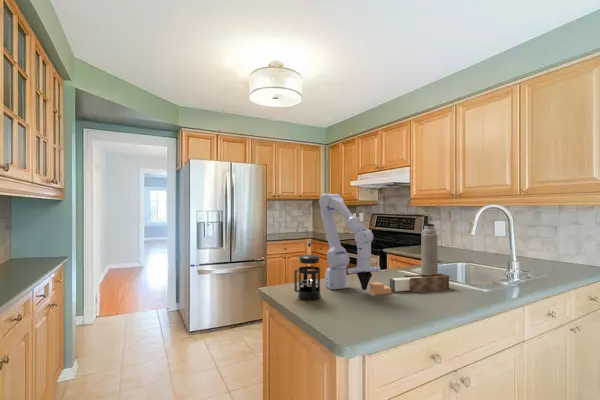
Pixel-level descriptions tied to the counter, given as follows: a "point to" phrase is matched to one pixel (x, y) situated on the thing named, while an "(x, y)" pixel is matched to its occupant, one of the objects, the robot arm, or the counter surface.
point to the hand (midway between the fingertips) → (364, 289)
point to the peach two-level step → (379, 288)
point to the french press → (309, 287)
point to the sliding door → (400, 284)
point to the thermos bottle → (429, 250)
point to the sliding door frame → (428, 282)
